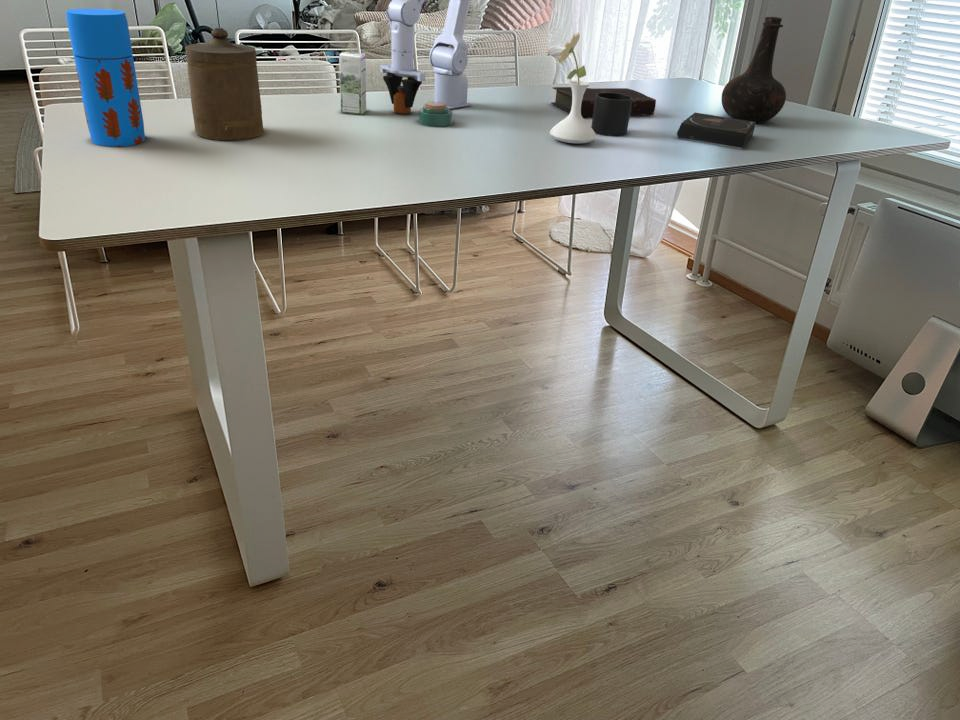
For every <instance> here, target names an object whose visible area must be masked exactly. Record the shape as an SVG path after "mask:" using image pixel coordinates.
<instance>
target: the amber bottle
mask: <svg viewBox="0 0 960 720" xmlns="http://www.w3.org/2000/svg"><path fill="white" fill-rule="evenodd" d="M398 91H399V92H396V94H394V104H393V112H394V113H396V114H410V113H411V112H412V107H409V108H406V106H405V93H404V87H403V85H401V86H398Z"/></svg>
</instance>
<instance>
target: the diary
mask: <svg viewBox="0 0 960 720" xmlns="http://www.w3.org/2000/svg"><path fill="white" fill-rule="evenodd" d="M552 89H553V90H555V91H556V92H555V101H553V102H550V104H551V105H553V106H555V107H557V108H558V109H561V110H563V111H565V112H567V113H568V114H570V112H571V108H572V89H571V86H553V87H552ZM598 93H618V94H624V95H628V96H630V97H632V105H631V108H632V112H631V115H630V116H653V115H655V111H656V107H657V106H656V105H657V100H656V98H653V97H651V96H648V95H646V94H644V93H642V92H641V91H638V90H635V89H631V88H627V87H619V88H618V87H612V88H611V87H610V88H609V87H608V88H607V87H605V88H603V87H602V88H601V87H600V88H598V87H597V88H596V87H595V88H589V87H587V89H586V90H585V92H584V95H583V99H582V103H581V116H582V117H593V111H594V104H595V97H596V94H598Z"/></svg>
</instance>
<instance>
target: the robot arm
mask: <svg viewBox="0 0 960 720" xmlns="http://www.w3.org/2000/svg"><path fill="white" fill-rule="evenodd" d="M425 1H426V0H391V1H390V2H389V4H388V6H387V9H386V10H385V13H386V17H387V19H388V22H389V28H390V30H391V34H390V35H391V37H390V39H391V40H390V41H391V43H390V45H391V57H390V58H391V60H390V61H391V63H390V64H387V63H386V64H385V63H384V64H379V73H381V74H386V75H383V76H382V80H383V81H384V83H385V86H386V87H387V91H388V94H389V98H390V102H391V105H394V94H396V92H399V91H398V86H403V87H404V93H405V106H406V108H409V107H411V108H413V107H414V104H415V103H414V102H415V100H416V95H417V93H418V91H419V88H420V86H421V85H422V83H423V82H425V81H426V72H423V71H420V70H418V69H415V68H414V60H415V59H414V57H415V56H414V54H415V51H414V50H415V24H416V23H417V22H418V21H419V19H420V15H421V10H422V6H423V4H424V3H425ZM471 1H472V0H449V1H448V6H447V10H446V11H447V12H446V16H445V20H444V26H443V30H442V33H440V34H439V35H438V36H437V37H436V38H435V39H434V43H433V46H432V47H431V49H430V51H429V55H428V60H429V64H430V65H431V67H432V71H433V72H434V85H433V87H434V88H433V101H435V102H443V103H446V107H448V108H449V110H452V109H458V108H464V107H468V106H470V104H469V103H468V90H469V89H468V87H469V80H468V78H467V75H466V74H465V73H464V71H465V70H466V68H467V66H468V61H469V60H468V57H469V56H468V52H469V45H468V43H466V41H465V40H464V32H465V28H466V24H467V19H468V14H469V10H470V5H471ZM404 78H405V79H404Z"/></svg>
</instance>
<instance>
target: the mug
mask: <svg viewBox="0 0 960 720" xmlns="http://www.w3.org/2000/svg"><path fill="white" fill-rule="evenodd" d="M631 105H632V97H630V96H628V95H624V94H618V93H598V94H596V97H595V104H594V111H593V116H592V119H591V125H590V127H591V128H592V129H593V130H594V132H595V134H598V135H601V136H609V137H620V136H625V135H627V133H628V129H629V124H630V123H629V122H630V117H631V116H632V115H631V112H632V108H631Z"/></svg>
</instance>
